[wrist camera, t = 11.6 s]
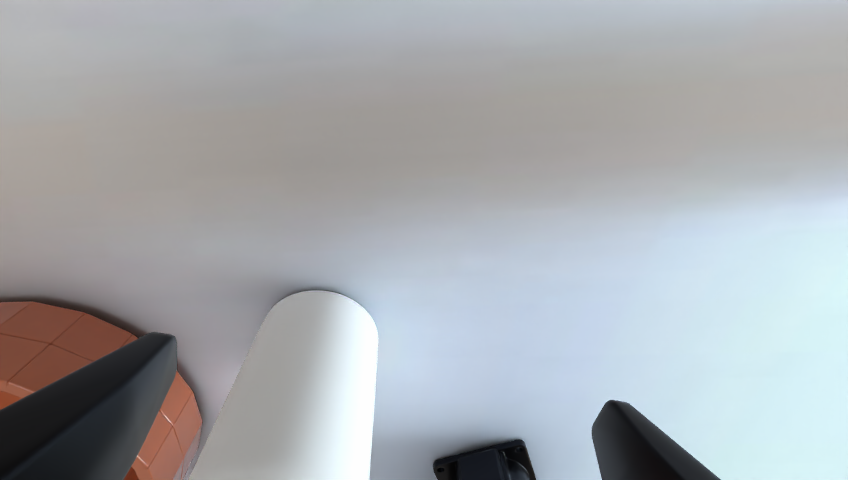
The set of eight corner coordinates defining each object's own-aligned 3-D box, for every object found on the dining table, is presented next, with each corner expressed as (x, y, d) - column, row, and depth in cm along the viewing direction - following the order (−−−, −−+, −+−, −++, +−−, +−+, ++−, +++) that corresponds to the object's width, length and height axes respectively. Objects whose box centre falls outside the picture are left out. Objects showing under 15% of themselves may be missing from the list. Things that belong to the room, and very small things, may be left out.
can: (255, 363, 25) (144, 619, 14) (273, 272, 22) (155, 500, 11) (363, 385, 26) (336, 636, 15) (392, 301, 23) (386, 532, 13)
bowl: (249, 452, 28) (217, 541, 23) (47, 506, 29) (-24, 602, 24) (104, 259, 21) (14, 327, 16) (-149, 341, 23) (-302, 427, 18)
